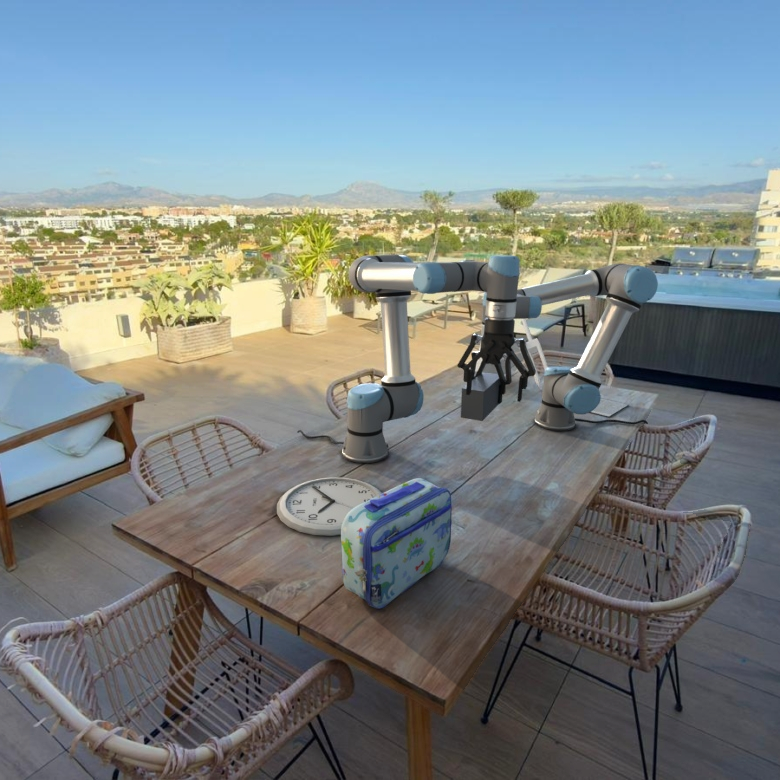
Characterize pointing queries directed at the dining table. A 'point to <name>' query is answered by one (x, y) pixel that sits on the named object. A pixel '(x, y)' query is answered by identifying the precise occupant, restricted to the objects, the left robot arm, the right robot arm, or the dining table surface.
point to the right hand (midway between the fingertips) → (488, 400)
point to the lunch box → (395, 540)
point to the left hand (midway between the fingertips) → (493, 397)
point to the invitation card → (608, 407)
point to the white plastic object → (519, 355)
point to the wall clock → (323, 504)
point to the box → (480, 397)
